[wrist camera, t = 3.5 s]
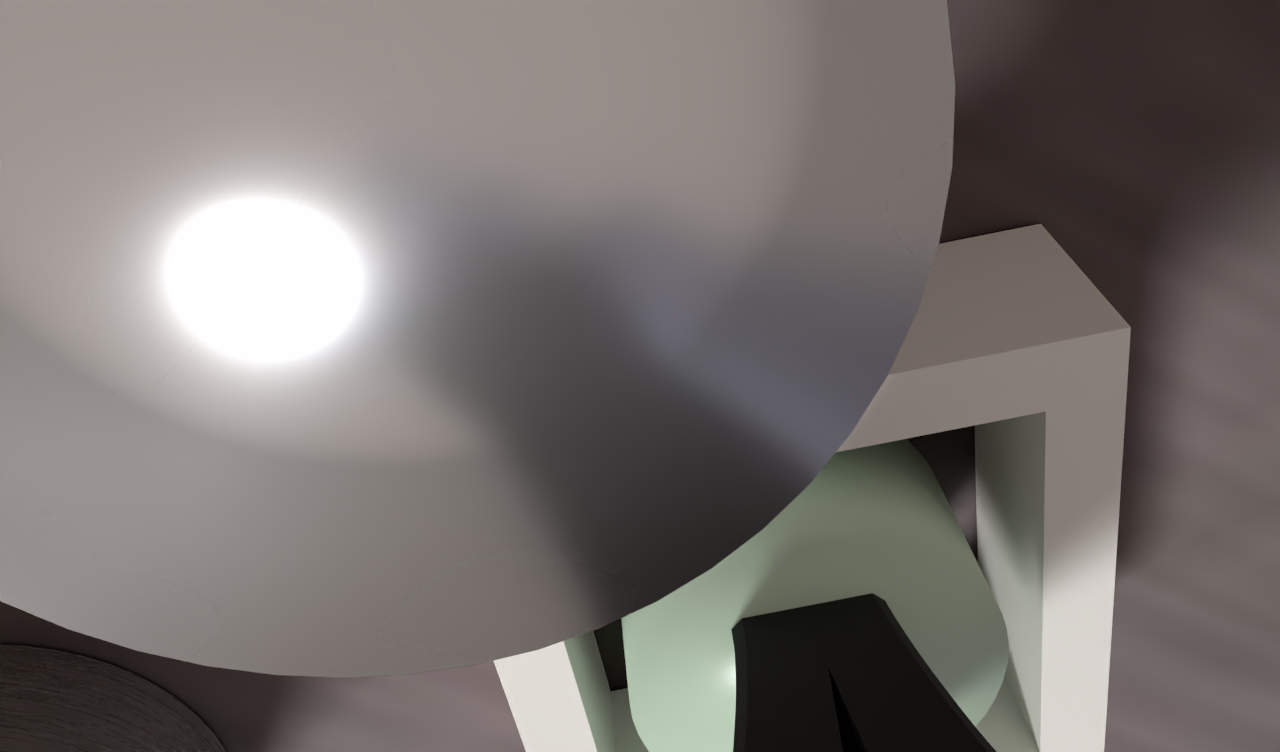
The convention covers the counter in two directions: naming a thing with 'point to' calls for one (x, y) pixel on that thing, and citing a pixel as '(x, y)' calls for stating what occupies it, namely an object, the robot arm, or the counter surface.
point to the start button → (821, 596)
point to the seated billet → (89, 707)
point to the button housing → (1005, 493)
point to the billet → (439, 306)
